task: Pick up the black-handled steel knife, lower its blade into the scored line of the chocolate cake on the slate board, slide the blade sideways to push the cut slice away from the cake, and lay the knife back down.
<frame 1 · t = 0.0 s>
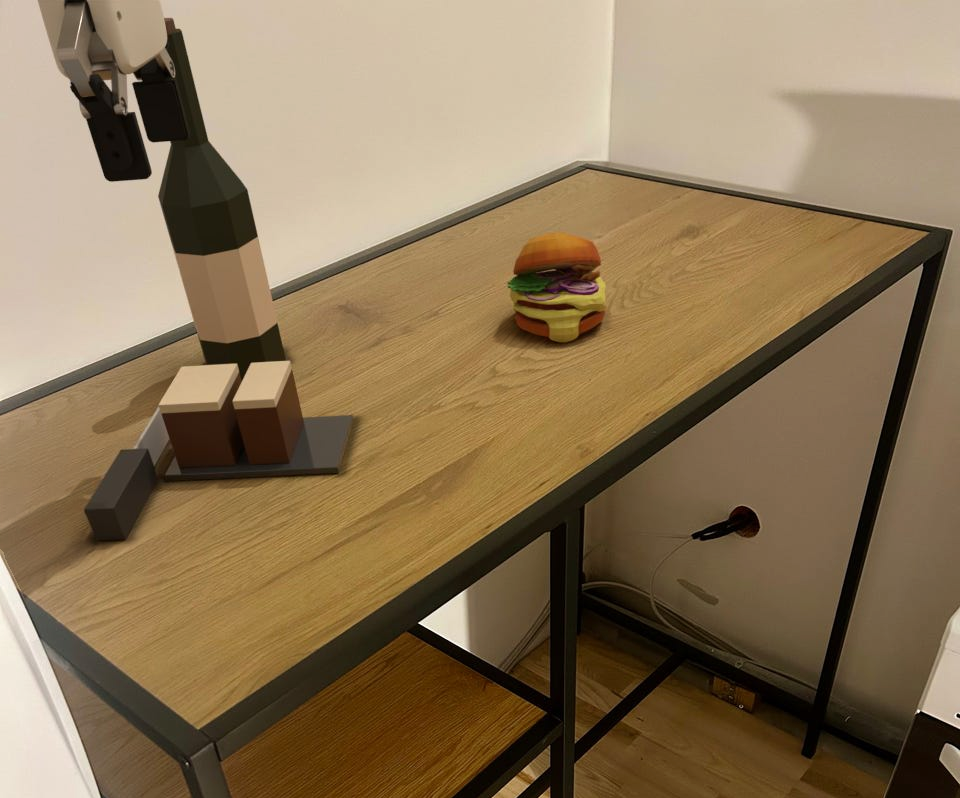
hand: (150, 158, 69), 24 cm above the table, tool pointing down, fingers open, 9 cm apart
cake slice: (277, 443, 84), point 1 cm above the table, touching board
wine bottle: (246, 366, 98), on the table
board: (263, 449, 84), on the table
cake: (252, 450, 84), resting on board
knife: (129, 508, 79), on the table
cheeseburger: (557, 323, 100), on the table
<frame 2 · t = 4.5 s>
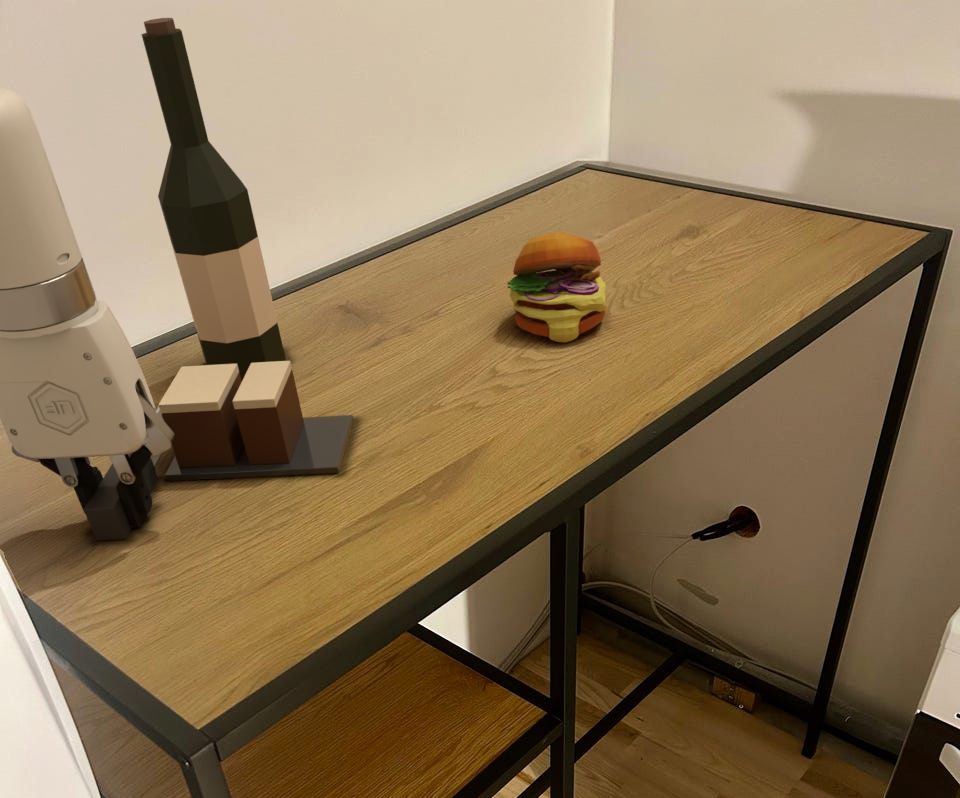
hand: (122, 517, 77), 0 cm above the table, tool pointing down, fingers closed on knife, 2 cm apart
knife: (129, 508, 79), on the table, touching gripper
everything else where it was.
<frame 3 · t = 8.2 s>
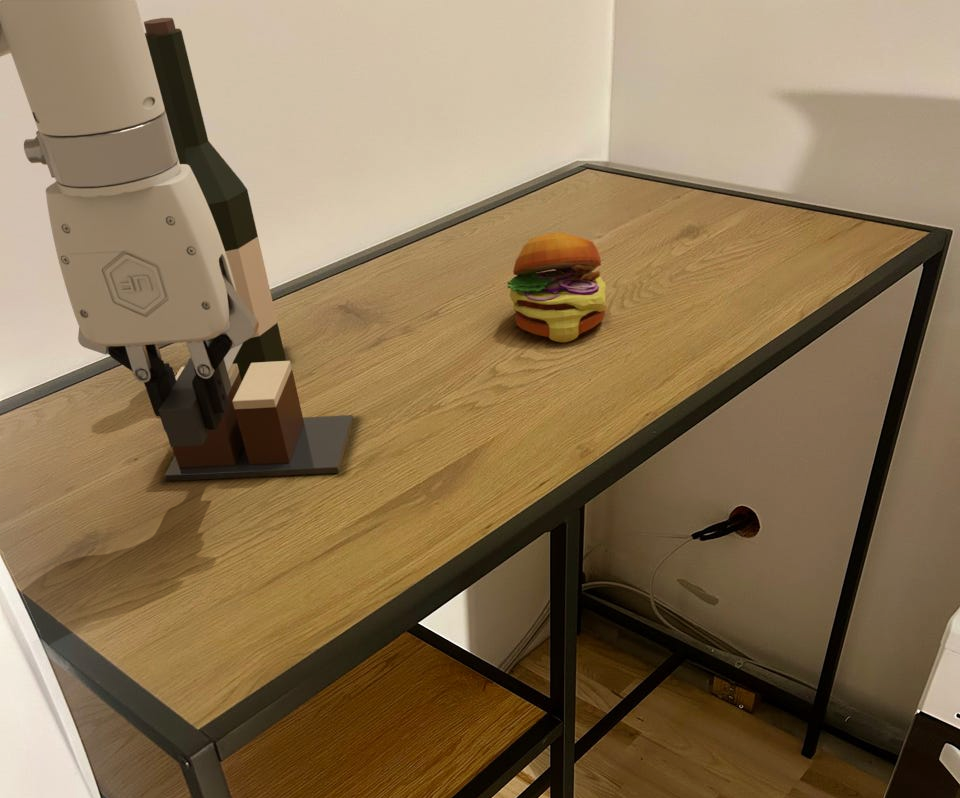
hand: (195, 420, 71), 9 cm above the table, tool pointing down, fingers closed on knife, 2 cm apart
knife: (202, 416, 72), point 8 cm above the table, touching gripper
everything else where it was.
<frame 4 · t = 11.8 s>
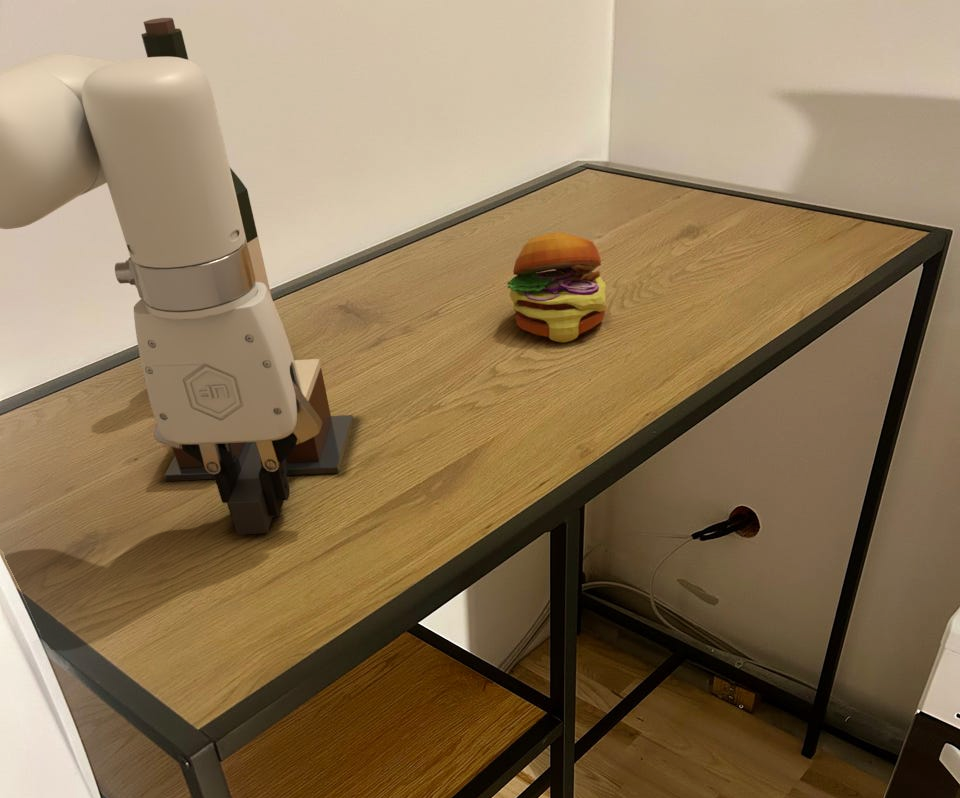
hand: (258, 505, 76), 1 cm above the table, tool pointing down, fingers closed on knife, 2 cm apart
cake slice: (306, 441, 83), point 1 cm above the table, touching board, knife
knife: (264, 500, 77), on the table, touching board, cake slice, gripper
everything else where it was.
when the fingers open (1 cm above the table, at t = 17.5 s): knife stays where it is, on the table.
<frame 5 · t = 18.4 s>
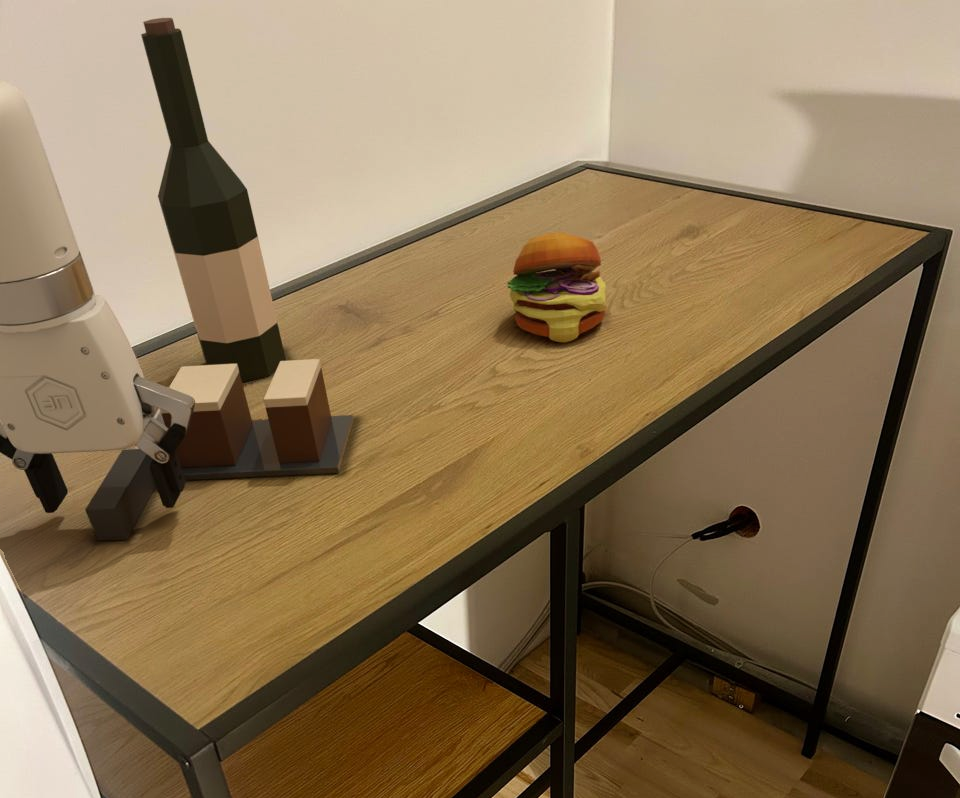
hand: (115, 500, 76), 2 cm above the table, tool pointing down, fingers open, 9 cm apart
cake slice: (306, 441, 83), point 1 cm above the table, touching board
knife: (130, 508, 79), on the table
everything else where it was.
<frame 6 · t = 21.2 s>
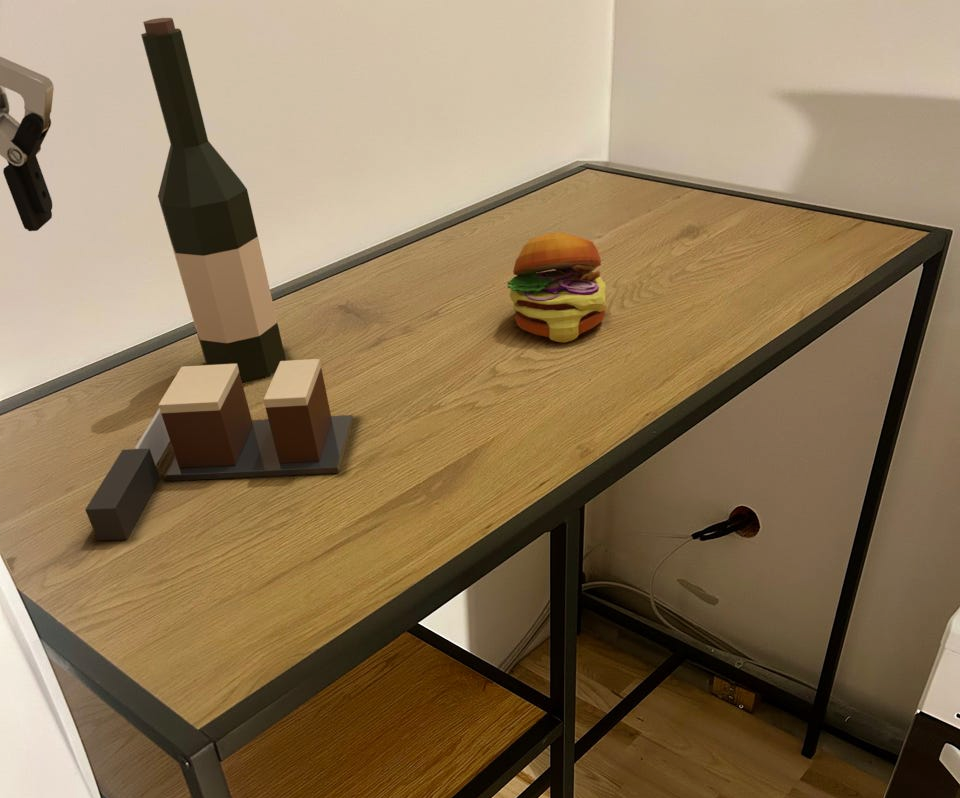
nothing on the table moved.
at the end: cake slice moved 2.6 cm from its start; cake slice touching board; cake slice tilted 0° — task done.
